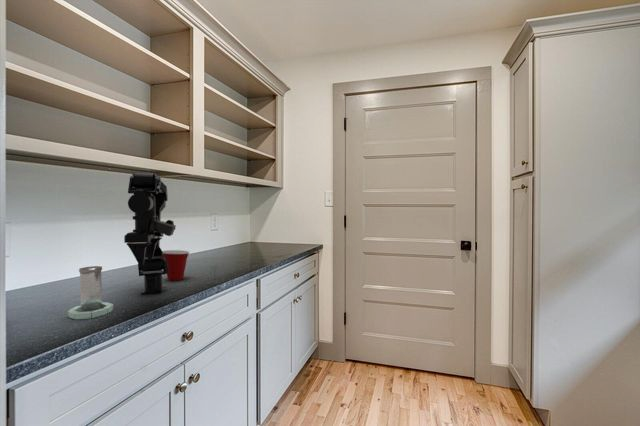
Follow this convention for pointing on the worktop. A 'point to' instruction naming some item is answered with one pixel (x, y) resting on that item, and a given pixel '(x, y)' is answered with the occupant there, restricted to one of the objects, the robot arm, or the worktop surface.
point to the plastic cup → (176, 263)
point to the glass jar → (91, 288)
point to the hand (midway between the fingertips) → (146, 262)
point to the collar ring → (90, 312)
